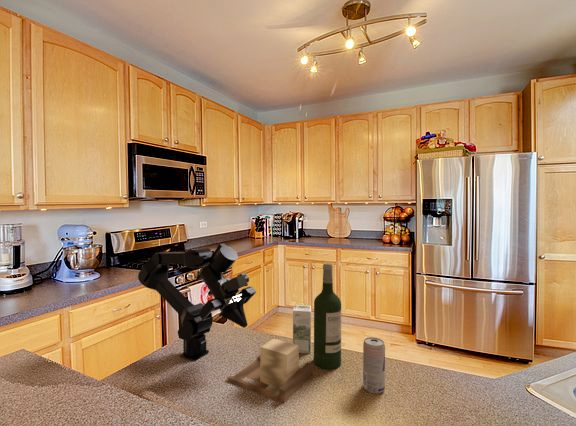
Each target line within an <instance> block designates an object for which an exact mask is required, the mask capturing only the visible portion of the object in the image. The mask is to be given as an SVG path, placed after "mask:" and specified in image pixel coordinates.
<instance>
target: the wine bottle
mask: <svg viewBox="0 0 576 426" xmlns="http://www.w3.org/2000/svg"><path fill="white" fill-rule="evenodd" d="M322 270H323V271H322V290H321V292H320V293H319V294H318V295H317V296H316V297H315V298H314V300H313V364H314V366H316V367H317V368H319V369H322V370H325V371H331V370H336V369H339V368H340V367H341V366H342V301H341V299H340V298H339V296H338V295H337V294H336V293H335V292H334V287H333V284H334V281H333V264H332V263H331V262H326V263H325V262H324V263H323V264H322Z"/></svg>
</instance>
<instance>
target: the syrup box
mask: <svg viewBox="0 0 576 426" xmlns="http://www.w3.org/2000/svg"><path fill="white" fill-rule="evenodd" d="M292 344H295V345H299V354H311V352H312V306H311V305H304V304H303V305H302V304H300V305H299V304H298V305H297V304H294V306H293V308H292Z"/></svg>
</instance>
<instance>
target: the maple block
mask: <svg viewBox="0 0 576 426" xmlns="http://www.w3.org/2000/svg"><path fill="white" fill-rule="evenodd" d="M259 354H260V382H263V383H265V384H268V385H271V386H273V387H276V388H280V387H281V386H283V385H284V384H285V383H286V382H287V381H288V380H289V379H290V378H291V377H292V376H293V375H294V374H295V373H296V372H298V371H299V368H300V364H299V362H300V361H299V360H300V358H299V357H300V353H299V345H295V344H293V342H292V343H290V342H289V341H288V342H287V341H284V340H280V339H277V338H272V339H270V340H269V341H267V342H266V343H264V344H262V345H261V346H260V353H259Z"/></svg>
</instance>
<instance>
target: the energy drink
mask: <svg viewBox="0 0 576 426" xmlns="http://www.w3.org/2000/svg"><path fill="white" fill-rule="evenodd" d="M362 345H363V347H362V349H363V351H362V354H363V355H362V364H363V365H362V366H363V367H362V376H363V377H362V386H363V388H364V390H365V391H367V392H368V393H371V394H382V393H383V392H384V391H385V389H386V377H385V376H386V345H385V341H384V340H383V339H381V338H378V337H373V336H370V337H369V336H368V337H366V338H364V339H363V344H362Z"/></svg>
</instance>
